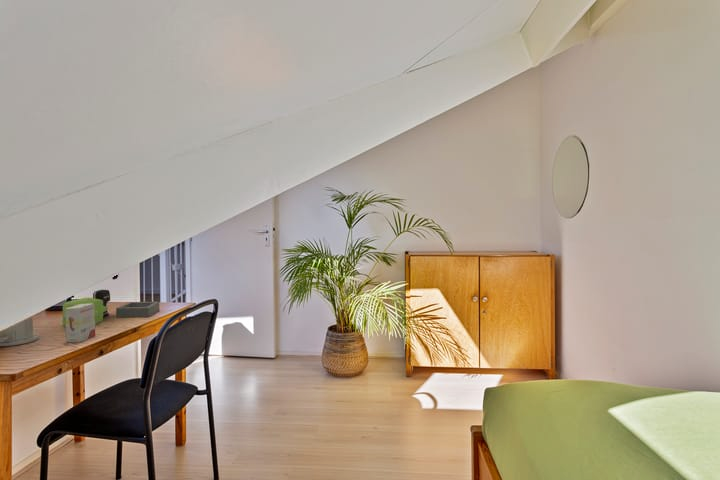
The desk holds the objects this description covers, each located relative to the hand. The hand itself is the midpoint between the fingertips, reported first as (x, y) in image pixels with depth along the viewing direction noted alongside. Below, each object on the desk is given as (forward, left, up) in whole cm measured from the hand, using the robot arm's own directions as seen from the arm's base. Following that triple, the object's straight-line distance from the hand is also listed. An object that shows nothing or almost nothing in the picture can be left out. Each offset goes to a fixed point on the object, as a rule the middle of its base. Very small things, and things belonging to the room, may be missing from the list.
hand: (102, 279), depth 173 cm
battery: (-1, 0, -16) cm, 16 cm away
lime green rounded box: (-14, +1, -16) cm, 21 cm away
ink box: (-34, -8, -16) cm, 38 cm away
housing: (+3, -13, -16) cm, 21 cm away
